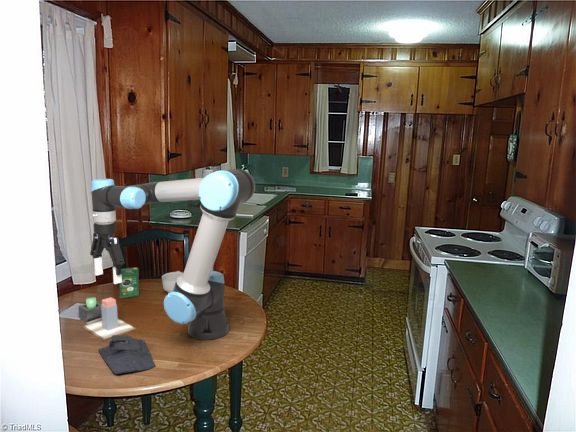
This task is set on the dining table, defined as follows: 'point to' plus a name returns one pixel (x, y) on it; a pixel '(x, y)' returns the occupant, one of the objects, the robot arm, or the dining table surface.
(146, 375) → the dining table surface
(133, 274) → the coffee box
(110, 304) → the pink-tipped grey block
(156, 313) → the dining table surface
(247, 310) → the dining table surface
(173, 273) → the teacup
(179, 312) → the robot arm
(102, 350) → the dark grey folded cloth
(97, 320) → the cream flat rectangular panel
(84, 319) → the switch box
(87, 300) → the button
